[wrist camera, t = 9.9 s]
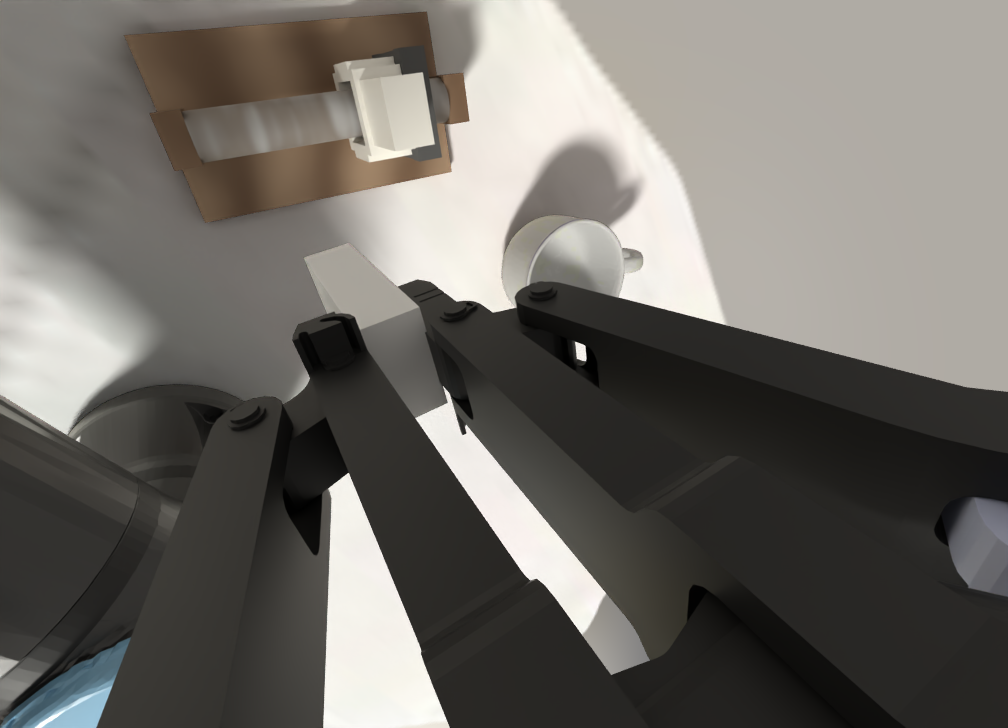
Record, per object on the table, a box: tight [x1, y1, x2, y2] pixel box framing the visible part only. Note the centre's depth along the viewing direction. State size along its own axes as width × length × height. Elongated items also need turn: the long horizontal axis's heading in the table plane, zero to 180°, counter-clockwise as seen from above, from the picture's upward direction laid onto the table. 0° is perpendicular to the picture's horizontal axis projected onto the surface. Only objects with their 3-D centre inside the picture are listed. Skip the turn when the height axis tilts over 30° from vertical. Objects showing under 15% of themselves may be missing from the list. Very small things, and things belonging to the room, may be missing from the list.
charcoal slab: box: [372, 45, 442, 162], centre depth 33 cm, size 2×6×6 cm, turn 6°
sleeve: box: [333, 56, 435, 162], centre depth 31 cm, size 3×6×10 cm, turn 7°
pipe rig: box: [124, 12, 469, 223], centre depth 33 cm, size 19×11×7 cm, turn 96°
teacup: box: [502, 215, 643, 308], centre depth 47 cm, size 14×11×8 cm
